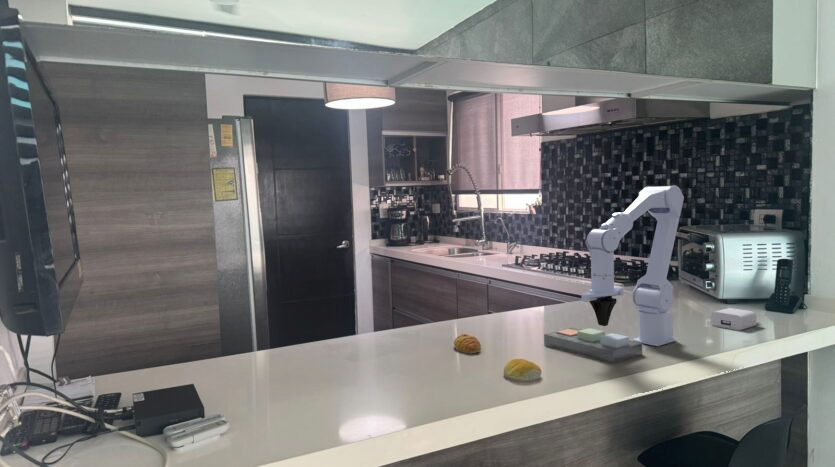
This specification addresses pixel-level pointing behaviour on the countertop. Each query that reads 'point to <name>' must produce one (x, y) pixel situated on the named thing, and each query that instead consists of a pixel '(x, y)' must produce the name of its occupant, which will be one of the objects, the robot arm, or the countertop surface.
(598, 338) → the sage button
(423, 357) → the countertop surface
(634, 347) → the button panel
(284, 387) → the countertop surface
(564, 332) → the terracotta button
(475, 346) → the pastry
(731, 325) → the charger
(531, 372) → the bread roll
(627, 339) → the blue-grey button
